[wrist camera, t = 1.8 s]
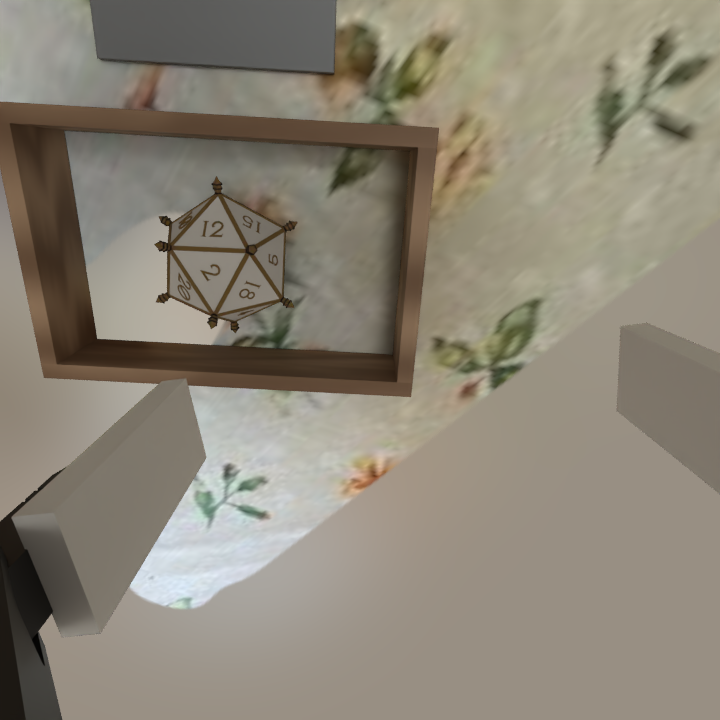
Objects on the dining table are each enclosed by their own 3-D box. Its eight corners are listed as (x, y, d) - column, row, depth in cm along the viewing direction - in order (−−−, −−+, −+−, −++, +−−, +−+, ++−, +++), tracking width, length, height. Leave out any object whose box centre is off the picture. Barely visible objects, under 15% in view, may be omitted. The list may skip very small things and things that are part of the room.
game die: (265, 268, 37) (245, 381, 32) (154, 215, 33) (110, 336, 28) (330, 196, 31) (318, 321, 26) (204, 118, 27) (160, 250, 21)
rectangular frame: (45, 111, 30) (-14, 100, 25) (427, 134, 30) (439, 128, 25) (85, 350, 36) (44, 377, 31) (404, 367, 36) (410, 396, 31)
